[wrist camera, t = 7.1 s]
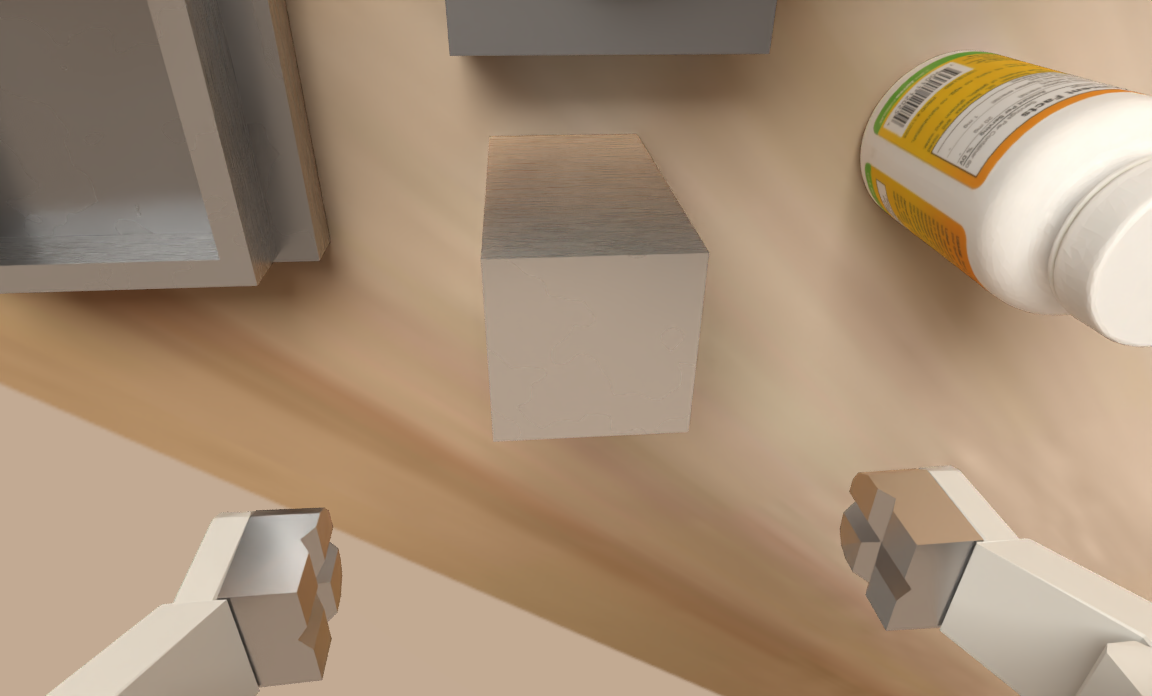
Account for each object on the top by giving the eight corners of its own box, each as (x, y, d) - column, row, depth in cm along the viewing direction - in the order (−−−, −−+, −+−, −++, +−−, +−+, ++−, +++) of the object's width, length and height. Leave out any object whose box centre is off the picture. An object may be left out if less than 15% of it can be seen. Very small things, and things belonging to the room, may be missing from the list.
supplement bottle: (991, 216, 24) (1245, 372, 16) (839, 219, 24) (1018, 381, 15) (1048, 46, 21) (1393, 129, 13) (877, 46, 21) (1120, 132, 13)
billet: (636, 133, 22) (709, 253, 14) (629, 267, 24) (688, 432, 16) (489, 135, 21) (480, 259, 14) (497, 271, 24) (493, 441, 16)
